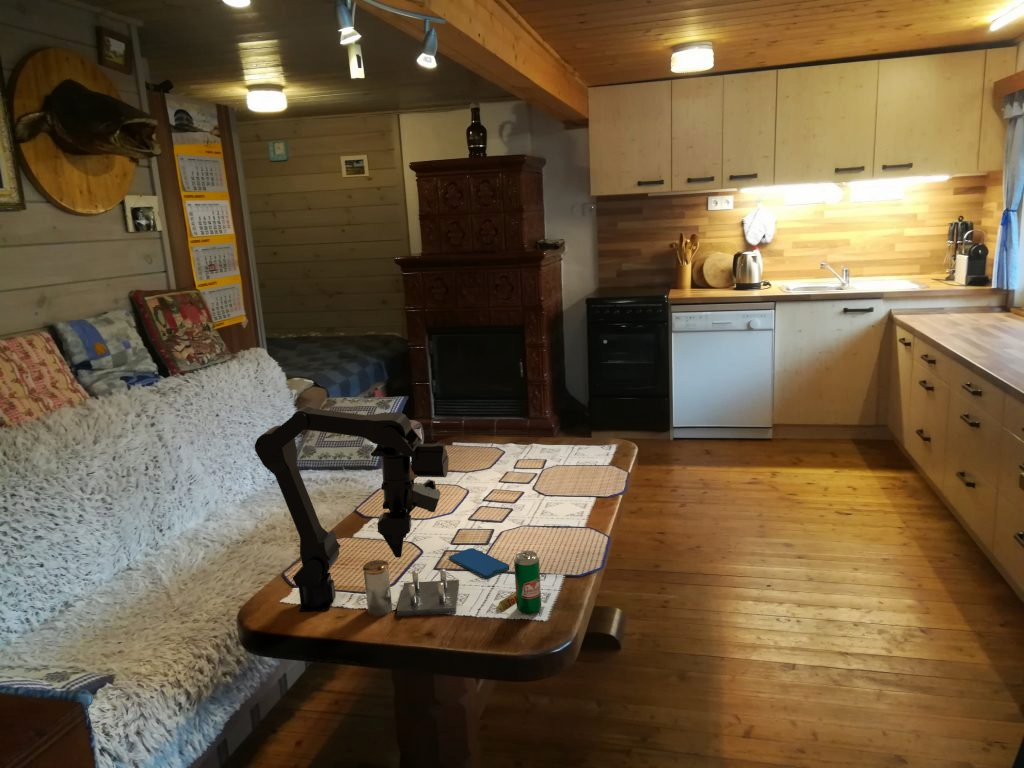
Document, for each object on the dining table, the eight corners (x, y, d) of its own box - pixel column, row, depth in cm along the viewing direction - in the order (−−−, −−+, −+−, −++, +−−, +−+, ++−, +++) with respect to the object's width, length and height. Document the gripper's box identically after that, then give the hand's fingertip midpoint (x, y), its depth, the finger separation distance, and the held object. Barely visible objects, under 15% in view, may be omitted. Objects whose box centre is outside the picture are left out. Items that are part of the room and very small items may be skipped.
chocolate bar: (541, 589, 164) (540, 580, 164) (505, 613, 156) (504, 603, 155) (532, 586, 166) (531, 577, 166) (495, 609, 157) (494, 599, 157)
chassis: (397, 616, 156) (395, 593, 155) (404, 587, 167) (402, 566, 166) (455, 613, 156) (454, 589, 155) (459, 584, 168) (457, 563, 166)
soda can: (524, 618, 153) (521, 563, 150) (512, 607, 157) (509, 553, 154) (546, 611, 155) (543, 556, 152) (533, 600, 159) (531, 547, 156)
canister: (365, 617, 156) (360, 572, 154) (369, 604, 161) (365, 560, 159) (390, 615, 156) (386, 571, 154) (394, 602, 161) (390, 559, 159)
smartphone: (471, 547, 185) (511, 565, 174) (472, 550, 185) (511, 569, 174) (446, 557, 181) (485, 576, 169) (447, 560, 181) (486, 580, 169)
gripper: (433, 491, 145) (437, 566, 149) (439, 459, 163) (442, 527, 167) (374, 493, 145) (379, 568, 148) (387, 461, 163) (391, 528, 166)
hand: (401, 547), depth 157 cm, fingers open, 9 cm apart
